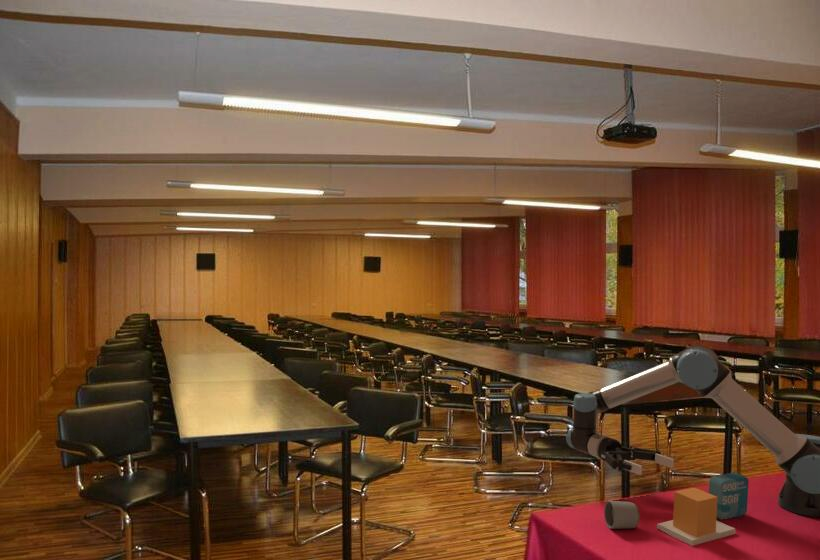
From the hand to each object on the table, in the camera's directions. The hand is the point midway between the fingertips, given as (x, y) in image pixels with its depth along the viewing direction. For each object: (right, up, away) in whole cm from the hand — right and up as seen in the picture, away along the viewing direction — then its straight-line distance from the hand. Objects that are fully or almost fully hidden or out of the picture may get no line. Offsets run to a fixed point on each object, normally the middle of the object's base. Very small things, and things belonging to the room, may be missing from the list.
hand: (657, 467), depth 204 cm
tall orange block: (+7, -15, -11) cm, 19 cm away
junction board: (+8, -16, -9) cm, 20 cm away
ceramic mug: (-13, -16, -6) cm, 21 cm away
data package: (+23, -16, +4) cm, 28 cm away
